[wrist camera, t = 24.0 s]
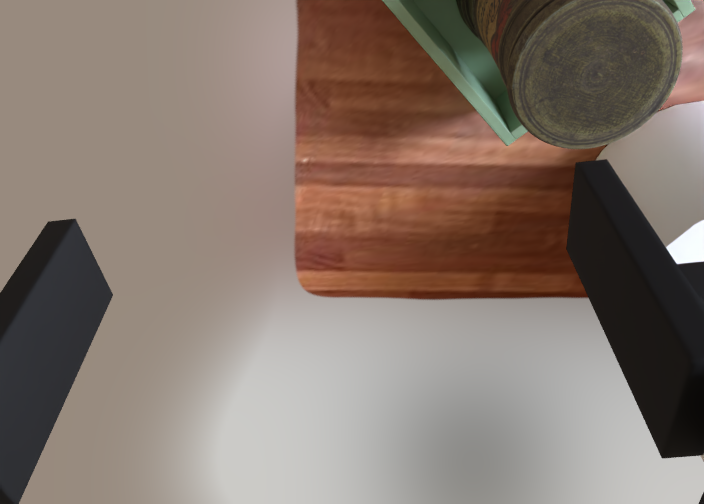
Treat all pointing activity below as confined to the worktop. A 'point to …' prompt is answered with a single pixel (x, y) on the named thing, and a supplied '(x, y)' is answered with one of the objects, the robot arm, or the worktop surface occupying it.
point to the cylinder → (667, 176)
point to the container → (580, 63)
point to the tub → (472, 57)
